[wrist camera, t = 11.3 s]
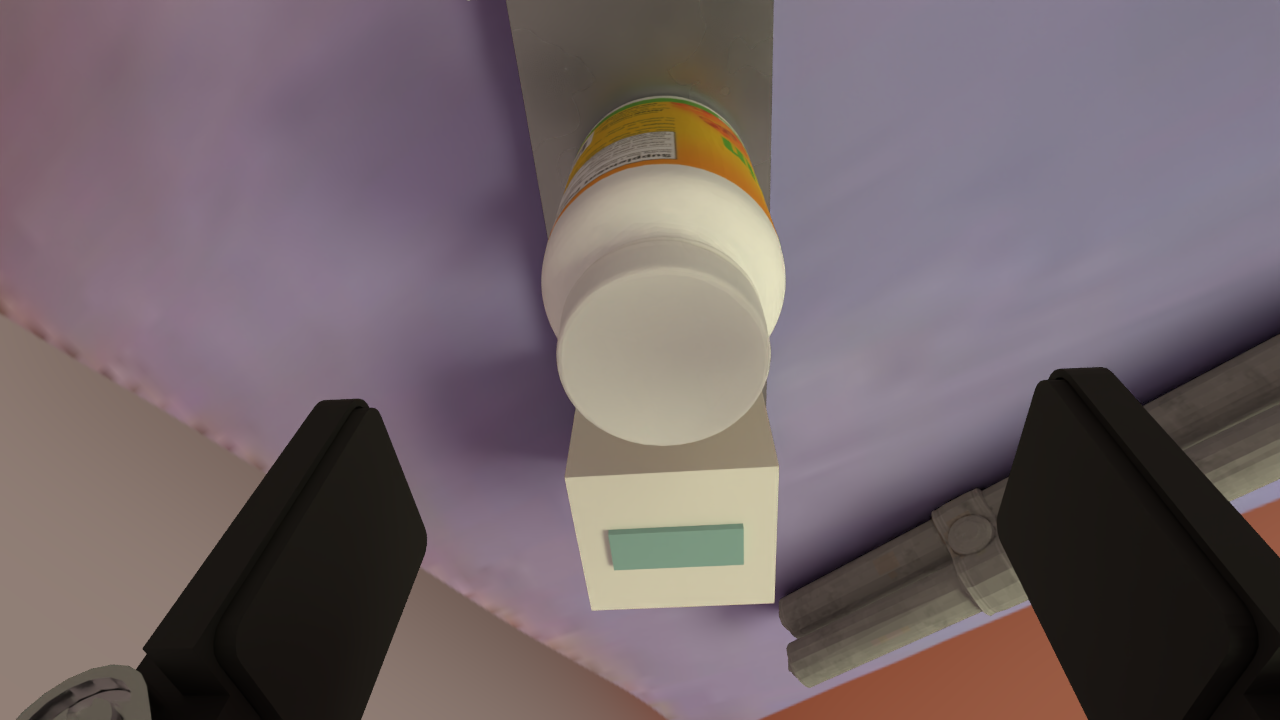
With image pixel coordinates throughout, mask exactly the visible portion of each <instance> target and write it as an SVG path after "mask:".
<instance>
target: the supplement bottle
mask: <svg viewBox="0 0 1280 720" xmlns="http://www.w3.org/2000/svg"><path fill="white" fill-rule="evenodd" d="M541 288H542V297H543V303H544V307H545V311H546V314H547V317H548V320H549V322H550V325H551V327H552V329H553V331H554V333H555V335H556V337H557V338H558V342H557V350H556V359H557V368H558V373H559V377H560V380H561V383H562V385H563V388H564V390H565V392H566V394H567V396H568V397H569V399H570V401H571V402H572V403H573V405H574V406H575V407H576V409H577V410H578V411H579V412H580V413H581V414H582V415H583V416H584V417H585V418H586V419H587V420H589V421H590V422H591V423H593V424H594V425H595V426H597V427H598V428H600V429H602V430H604V431H605V432H607V433H609V434H611V435H613V436H616V437H618V438H621V439H624V440H627V441H630V442H634V443H639V444H644V445H657V446H670V445H681V444H686V443H691V442H696V441H699V440H703V439H705V438H708V437H710V436H713V435H715V434H717V433H719V432H721V431H723V430H725V429H726V428H728V427H729V426H731V425H732V424H734V423H735V422H736V421H738V420H739V419H740V418H741V417H742V416H743V415H744V414H745V413H746V412H747V411H748V410H749V409H750V408H751V407H752V405H753V404H754V403H755V401H756V400H757V398H758V397H759V395H760V393H761V391H762V389H763V387H764V385H765V382H766V379H767V376H768V373H769V368H770V360H771V347H770V340H769V336H770V335H771V333H772V331H773V329H774V327H775V325H776V323H777V321H778V318H779V315H780V312H781V309H782V305H783V301H784V294H785V265H784V259H783V254H782V251H781V245H780V242H779V238H778V235H777V233H776V230H775V228H774V225H773V222H772V219H771V216H770V213H769V211H768V208H767V205H766V202H765V199H764V196H763V193H762V190H761V188H760V186H759V183H758V181H757V178H756V175H755V172H754V169H753V167H752V164H751V161H750V158H749V156H748V153H747V151H746V149H745V147H744V145H743V143H742V141H741V139H740V138H739V136H738V134H737V133H736V132H735V130H734V129H733V128H732V127H731V125H730V124H729V123H728V122H727V121H726V120H725V119H724V118H723V117H721V116H720V115H719V114H718V113H716V112H715V111H713V110H712V109H710V108H709V107H707V106H705V105H703V104H701V103H698V102H696V101H693V100H690V99H686V98H682V97H677V96H652V97H645V98H641V99H637V100H634V101H631V102H628V103H626V104H624V105H622V106H620V107H618V108H616V109H614V110H613V111H611V112H610V113H608V114H607V115H606V116H605V117H604V118H602V119H601V120H600V121H599V122H598V123H597V124H596V125H595V126H594V128H593V129H592V130H591V131H590V133H589V134H588V135H587V137H586V138H585V140H584V142H583V144H582V145H581V147H580V149H579V151H578V153H577V156H576V158H575V160H574V163H573V166H572V170H571V173H570V176H569V179H568V182H567V185H566V188H565V191H564V194H563V197H562V199H561V202H560V205H559V209H558V212H557V215H556V219H555V222H554V225H553V227H552V231H551V233H550V236H549V239H548V242H547V246H546V251H545V255H544V260H543V266H542V275H541Z"/></svg>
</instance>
